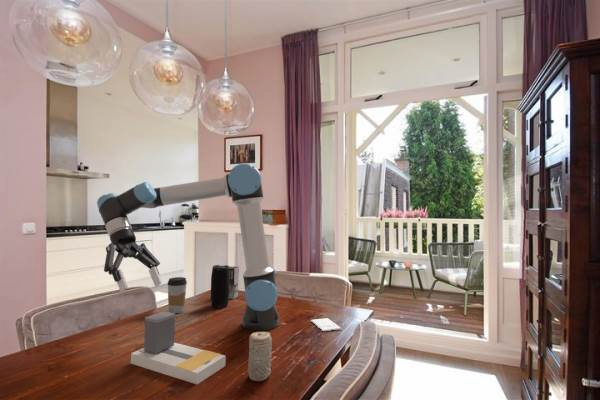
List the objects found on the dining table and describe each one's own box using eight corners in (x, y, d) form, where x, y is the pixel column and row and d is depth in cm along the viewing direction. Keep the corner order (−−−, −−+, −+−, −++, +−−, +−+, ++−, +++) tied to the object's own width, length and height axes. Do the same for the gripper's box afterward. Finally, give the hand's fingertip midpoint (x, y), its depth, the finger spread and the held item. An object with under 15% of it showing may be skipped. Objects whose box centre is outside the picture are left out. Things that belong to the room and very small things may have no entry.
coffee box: (238, 296, 179) (239, 266, 180) (233, 299, 173) (234, 268, 173) (222, 295, 181) (223, 265, 181) (217, 298, 174) (218, 267, 175)
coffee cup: (179, 315, 144) (180, 281, 145) (162, 313, 146) (163, 280, 147) (189, 309, 153) (190, 277, 153) (173, 308, 154) (174, 276, 155)
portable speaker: (230, 304, 164) (231, 264, 164) (225, 309, 154) (226, 267, 155) (213, 303, 164) (215, 264, 165) (207, 308, 155) (209, 267, 156)
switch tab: (143, 350, 100) (144, 317, 100) (162, 342, 106) (163, 311, 107) (155, 354, 98) (156, 320, 98) (174, 345, 104) (175, 313, 105)
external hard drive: (328, 321, 142) (341, 331, 130) (310, 323, 139) (322, 334, 127) (328, 317, 142) (341, 327, 130) (310, 319, 139) (322, 329, 127)
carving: (244, 382, 89) (245, 338, 89) (253, 369, 96) (254, 328, 97) (266, 385, 88) (267, 340, 88) (273, 372, 95) (274, 330, 96)
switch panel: (130, 363, 99) (131, 352, 99) (162, 348, 110) (163, 339, 110) (196, 384, 88) (197, 372, 88) (225, 365, 98) (225, 355, 99)
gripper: (143, 239, 127) (164, 288, 120) (78, 239, 104) (99, 298, 97) (156, 228, 125) (177, 277, 118) (93, 225, 102) (115, 285, 95)
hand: (142, 287), depth 108 cm, fingers open, 13 cm apart
